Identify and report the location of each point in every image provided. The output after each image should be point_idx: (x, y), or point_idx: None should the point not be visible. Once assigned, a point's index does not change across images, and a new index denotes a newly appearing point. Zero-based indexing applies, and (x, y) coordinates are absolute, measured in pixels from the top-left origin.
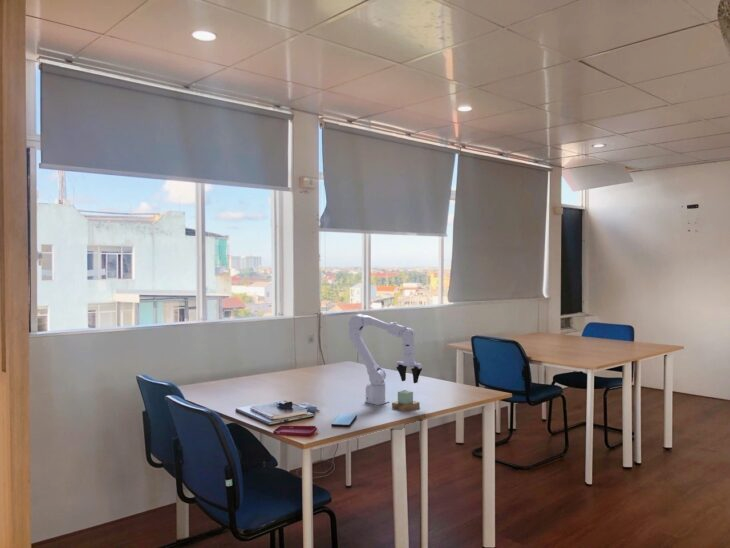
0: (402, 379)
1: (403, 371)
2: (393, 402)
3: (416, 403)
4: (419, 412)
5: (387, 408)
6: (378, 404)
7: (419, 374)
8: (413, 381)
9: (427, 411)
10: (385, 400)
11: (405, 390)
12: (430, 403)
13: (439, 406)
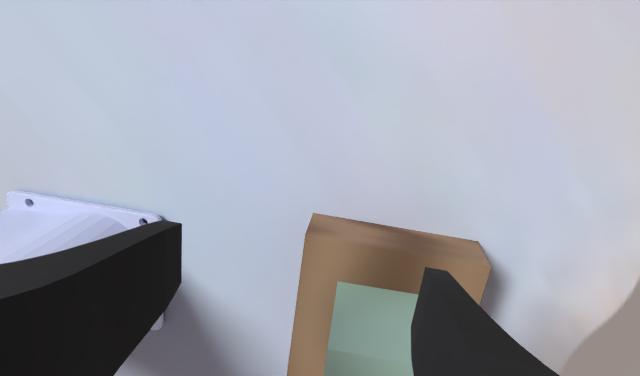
0: (167, 301)
1: (67, 359)
2: (293, 368)
3: (479, 302)
4: (540, 348)
5: (269, 357)
6: (160, 326)
7: (534, 359)
8: (412, 351)
9: (590, 298)
10: (118, 215)
11: (347, 362)
12: (496, 40)
13: (636, 97)
